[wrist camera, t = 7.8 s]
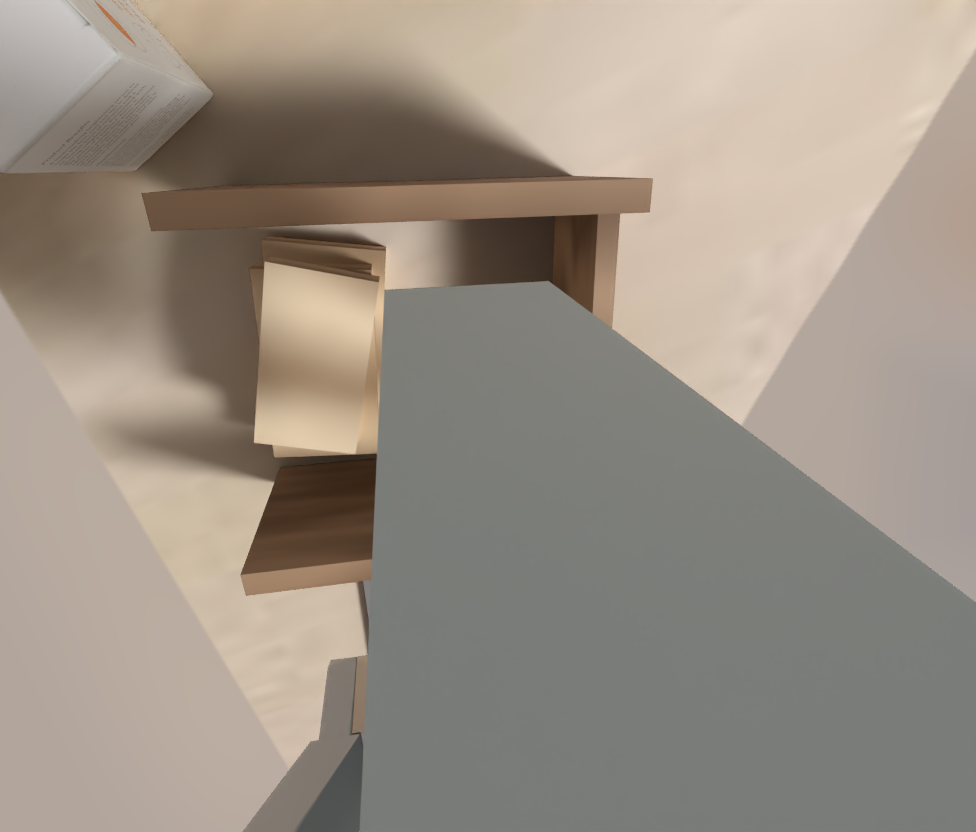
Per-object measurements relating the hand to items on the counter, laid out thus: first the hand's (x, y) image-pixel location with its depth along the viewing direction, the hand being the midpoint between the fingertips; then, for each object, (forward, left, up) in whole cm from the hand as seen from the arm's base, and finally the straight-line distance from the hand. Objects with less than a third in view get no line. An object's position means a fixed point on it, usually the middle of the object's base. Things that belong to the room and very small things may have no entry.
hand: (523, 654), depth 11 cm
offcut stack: (0, -6, -24) cm, 24 cm away
